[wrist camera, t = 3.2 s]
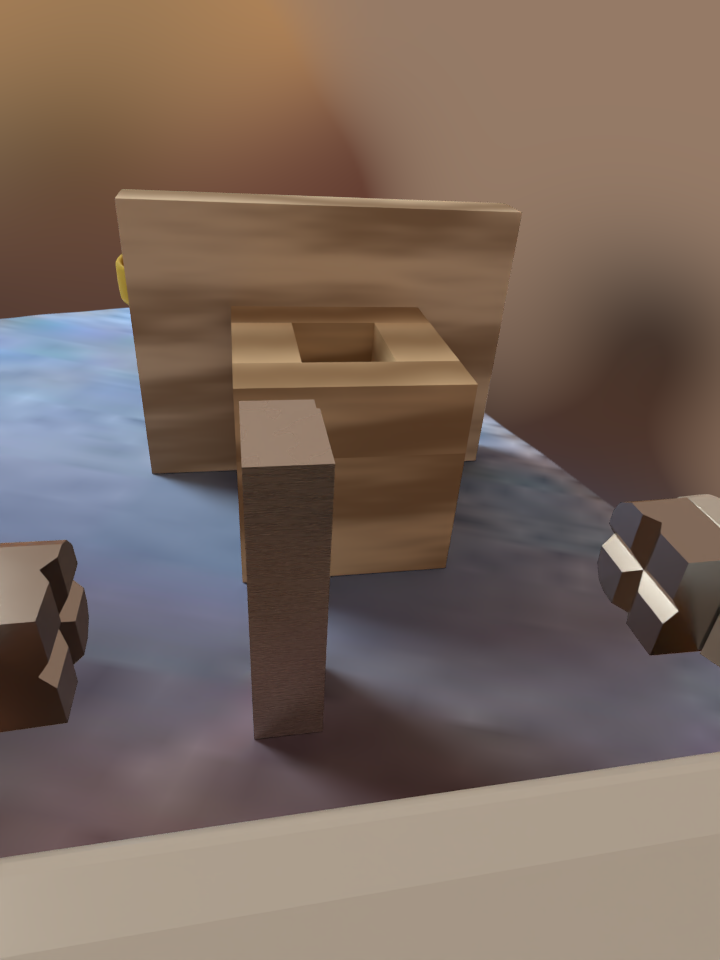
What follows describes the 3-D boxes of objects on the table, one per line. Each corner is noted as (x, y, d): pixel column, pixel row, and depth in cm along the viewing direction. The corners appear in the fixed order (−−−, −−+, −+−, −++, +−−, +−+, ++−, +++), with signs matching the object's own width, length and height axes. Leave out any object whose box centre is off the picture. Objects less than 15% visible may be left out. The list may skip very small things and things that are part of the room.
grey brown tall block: (322, 731, 28) (335, 463, 21) (254, 739, 28) (241, 467, 20) (308, 634, 33) (314, 388, 25) (249, 639, 33) (238, 389, 25)
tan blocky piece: (538, 561, 39) (621, 263, 30) (131, 590, 35) (71, 252, 25) (463, 441, 52) (504, 203, 42) (156, 451, 47) (121, 189, 37)
